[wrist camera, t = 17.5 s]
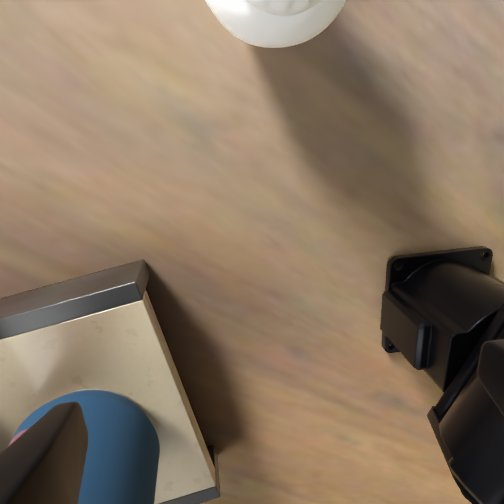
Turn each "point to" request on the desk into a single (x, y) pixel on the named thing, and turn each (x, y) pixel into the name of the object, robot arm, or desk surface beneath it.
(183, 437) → the shelf
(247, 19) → the muffin
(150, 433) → the soda can
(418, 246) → the desk surface
